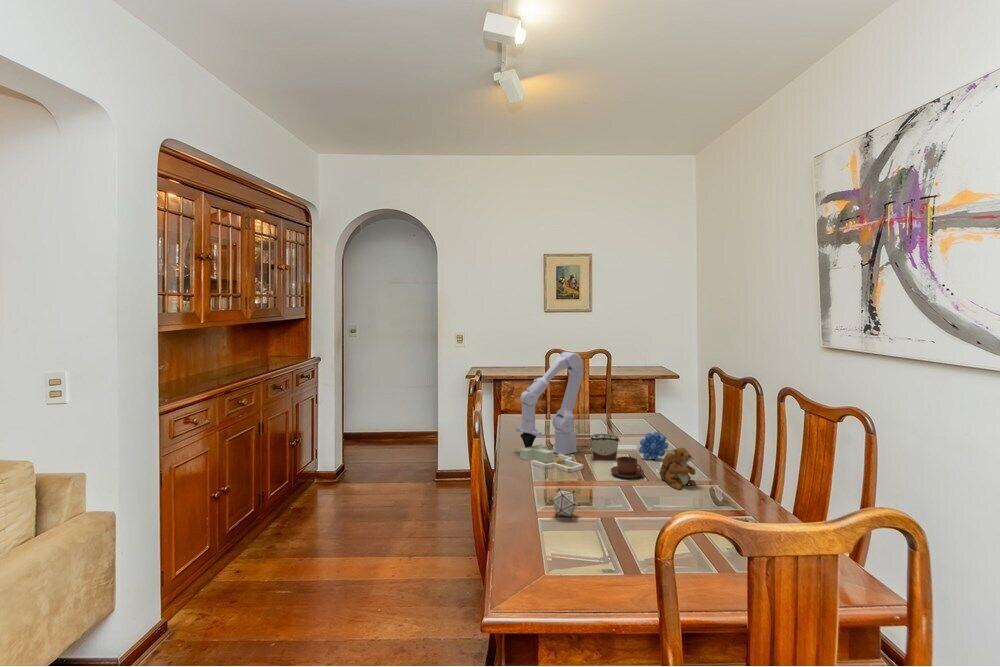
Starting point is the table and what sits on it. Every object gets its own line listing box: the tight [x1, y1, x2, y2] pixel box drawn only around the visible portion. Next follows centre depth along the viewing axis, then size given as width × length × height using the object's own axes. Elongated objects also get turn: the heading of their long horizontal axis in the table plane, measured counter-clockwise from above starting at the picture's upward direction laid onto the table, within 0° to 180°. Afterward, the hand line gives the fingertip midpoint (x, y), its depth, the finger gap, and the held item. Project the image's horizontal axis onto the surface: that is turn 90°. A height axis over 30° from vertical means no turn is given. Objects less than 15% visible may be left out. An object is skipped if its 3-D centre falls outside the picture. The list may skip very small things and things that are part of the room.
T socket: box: [532, 453, 585, 473], centre depth 205 cm, size 16×17×2 cm
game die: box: [549, 487, 581, 520], centre depth 154 cm, size 9×8×10 cm
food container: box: [589, 433, 621, 462], centre depth 215 cm, size 12×6×10 cm, turn 84°
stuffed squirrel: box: [658, 447, 697, 490], centre depth 184 cm, size 10×14×13 cm
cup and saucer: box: [610, 456, 644, 479], centre depth 193 cm, size 12×12×6 cm
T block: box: [519, 444, 555, 464], centre depth 214 cm, size 12×12×4 cm
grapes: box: [638, 431, 669, 460], centre depth 213 cm, size 12×7×12 cm, turn 70°
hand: (528, 450), depth 220 cm, fingers closed
